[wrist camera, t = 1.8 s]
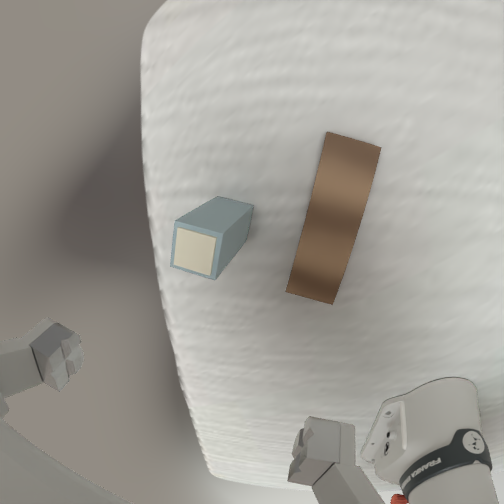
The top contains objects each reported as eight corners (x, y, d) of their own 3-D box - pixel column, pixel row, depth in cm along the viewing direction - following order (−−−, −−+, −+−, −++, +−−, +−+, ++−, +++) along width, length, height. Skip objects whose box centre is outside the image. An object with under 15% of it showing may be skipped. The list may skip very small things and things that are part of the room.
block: (246, 240, 34) (214, 281, 25) (211, 231, 35) (168, 267, 25) (253, 205, 32) (221, 234, 23) (217, 196, 33) (173, 221, 24)
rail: (332, 291, 34) (332, 304, 31) (289, 279, 34) (285, 291, 32) (376, 146, 27) (381, 147, 25) (326, 132, 28) (326, 131, 25)
